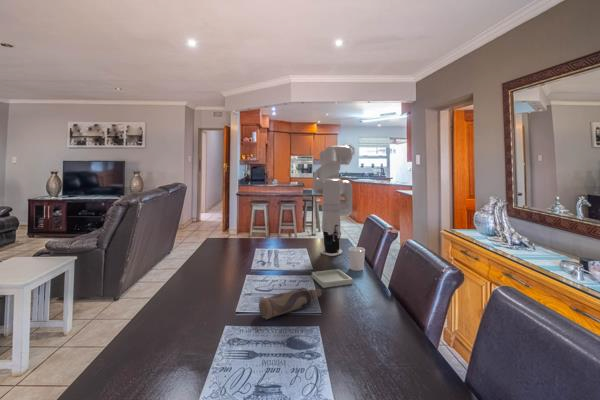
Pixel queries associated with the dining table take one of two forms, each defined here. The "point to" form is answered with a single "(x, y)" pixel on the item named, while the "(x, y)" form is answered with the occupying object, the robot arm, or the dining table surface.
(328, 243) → the dixie cup
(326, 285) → the tray
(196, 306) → the dining table surface
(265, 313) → the decorative bottle
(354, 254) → the white cup
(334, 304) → the dining table surface
